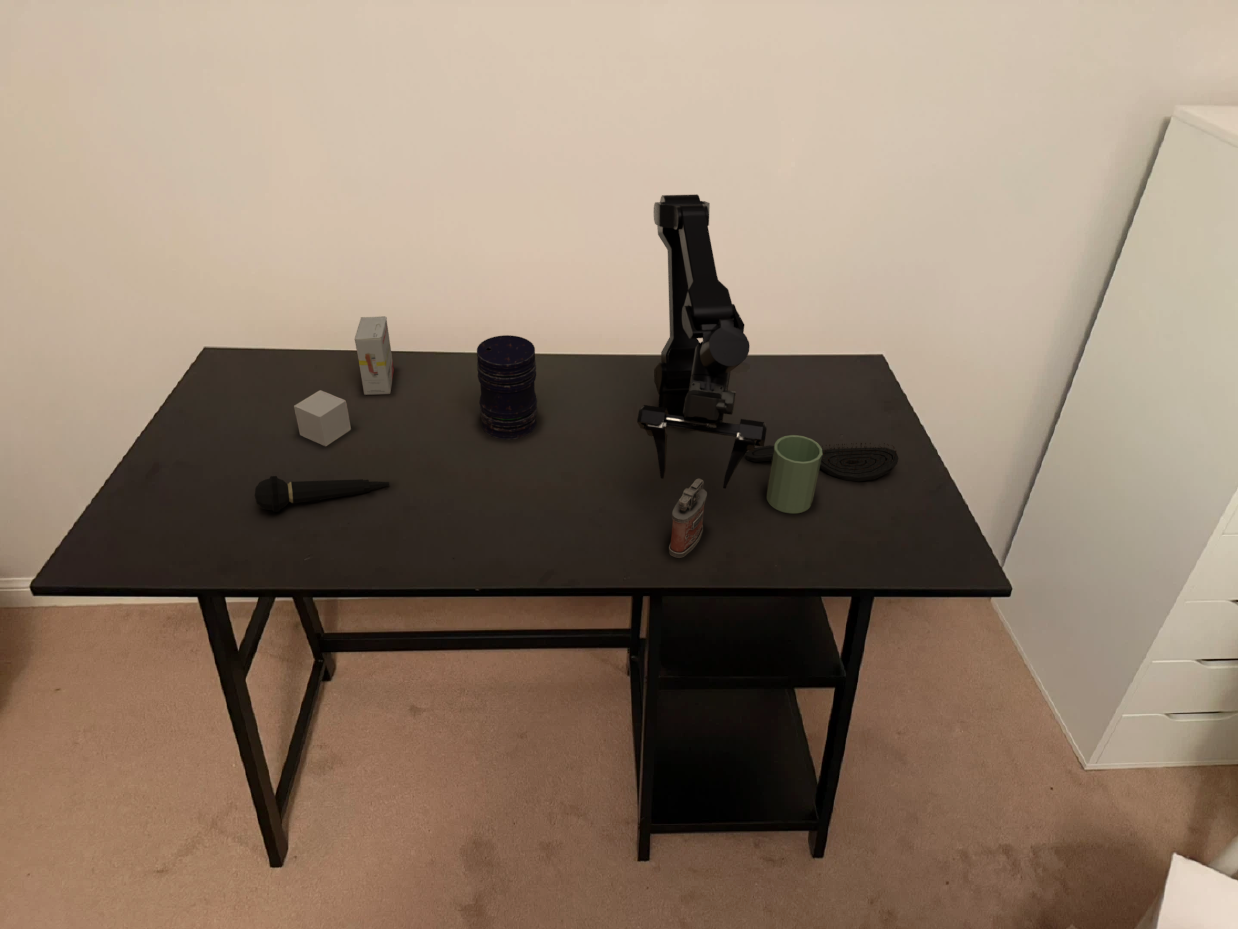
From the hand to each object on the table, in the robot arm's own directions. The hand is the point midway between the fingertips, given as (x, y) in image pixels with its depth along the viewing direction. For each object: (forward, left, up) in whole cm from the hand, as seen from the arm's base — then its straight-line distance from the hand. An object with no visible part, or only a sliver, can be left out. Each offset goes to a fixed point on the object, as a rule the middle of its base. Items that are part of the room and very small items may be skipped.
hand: (693, 483), depth 136 cm
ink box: (-68, +7, -10) cm, 69 cm away
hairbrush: (+11, +28, -10) cm, 31 cm away
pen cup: (+10, +16, -10) cm, 21 cm away
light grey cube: (-65, -10, -10) cm, 66 cm away
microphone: (-52, -24, -10) cm, 58 cm away
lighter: (+1, -2, -10) cm, 10 cm away
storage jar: (-40, +9, -10) cm, 42 cm away
